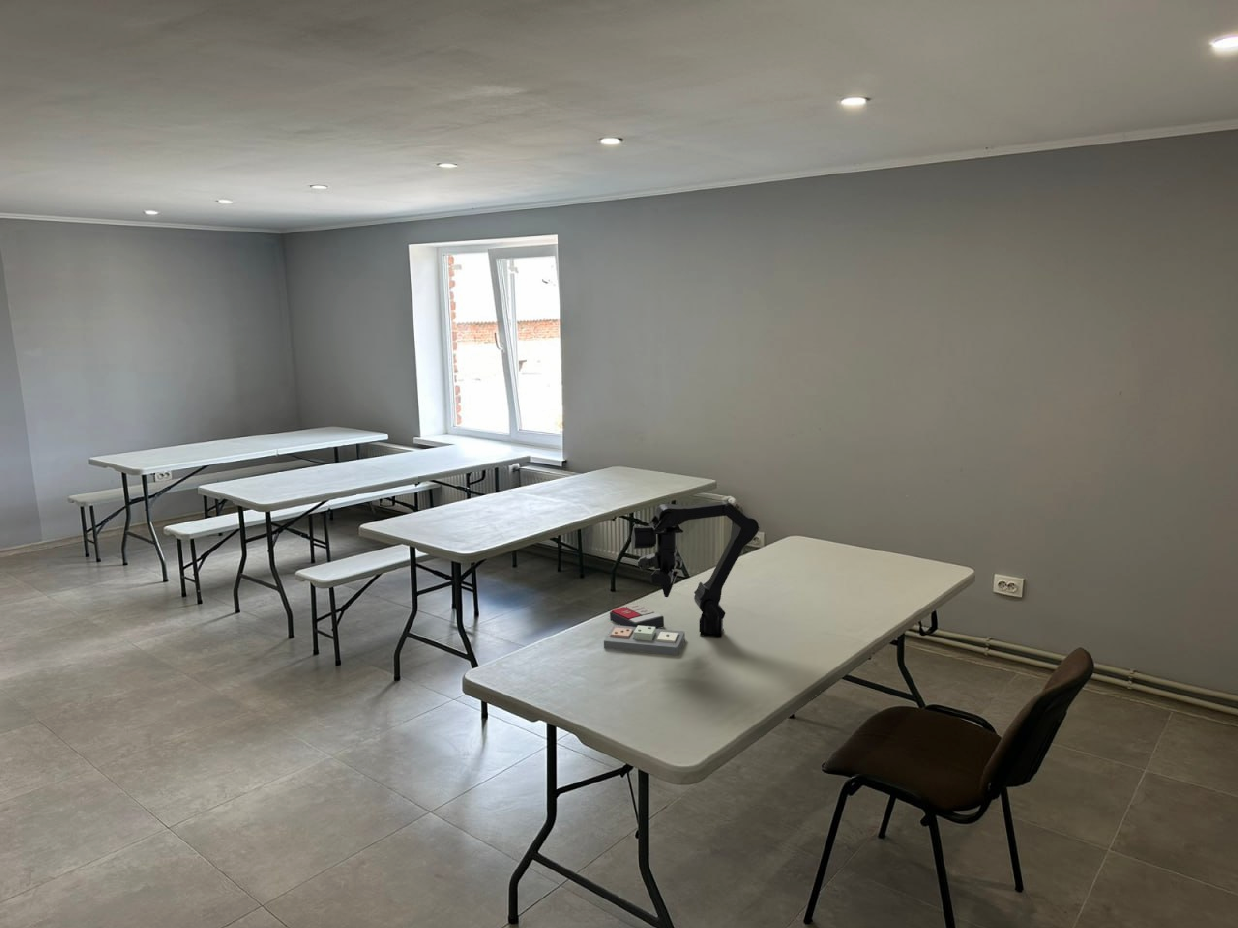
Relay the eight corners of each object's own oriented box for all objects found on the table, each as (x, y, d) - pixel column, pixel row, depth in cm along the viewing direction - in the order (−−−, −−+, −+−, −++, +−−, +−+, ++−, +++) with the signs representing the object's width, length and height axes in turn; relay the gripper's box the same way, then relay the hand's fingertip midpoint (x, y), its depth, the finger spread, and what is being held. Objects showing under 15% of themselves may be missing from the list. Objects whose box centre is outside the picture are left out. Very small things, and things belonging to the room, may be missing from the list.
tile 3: (632, 636, 243) (632, 628, 243) (628, 643, 238) (628, 635, 238) (615, 635, 245) (615, 626, 244) (611, 642, 240) (610, 633, 239)
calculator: (637, 602, 264) (664, 614, 252) (638, 614, 265) (664, 627, 252) (609, 609, 259) (635, 621, 246) (609, 622, 259) (635, 635, 247)
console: (684, 638, 243) (684, 631, 242) (677, 655, 231) (677, 647, 231) (614, 632, 248) (614, 625, 248) (603, 647, 237) (603, 640, 237)
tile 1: (678, 641, 240) (678, 632, 239) (674, 648, 235) (674, 639, 234) (660, 639, 241) (660, 630, 241) (656, 646, 236) (656, 638, 236)
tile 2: (655, 634, 241) (655, 626, 241) (651, 641, 236) (651, 633, 236) (638, 633, 243) (637, 624, 242) (633, 640, 238) (633, 631, 237)
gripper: (647, 536, 250) (647, 584, 253) (632, 554, 232) (633, 605, 235) (682, 538, 247) (682, 587, 250) (670, 556, 229) (670, 608, 232)
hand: (666, 596), depth 242 cm, fingers closed
